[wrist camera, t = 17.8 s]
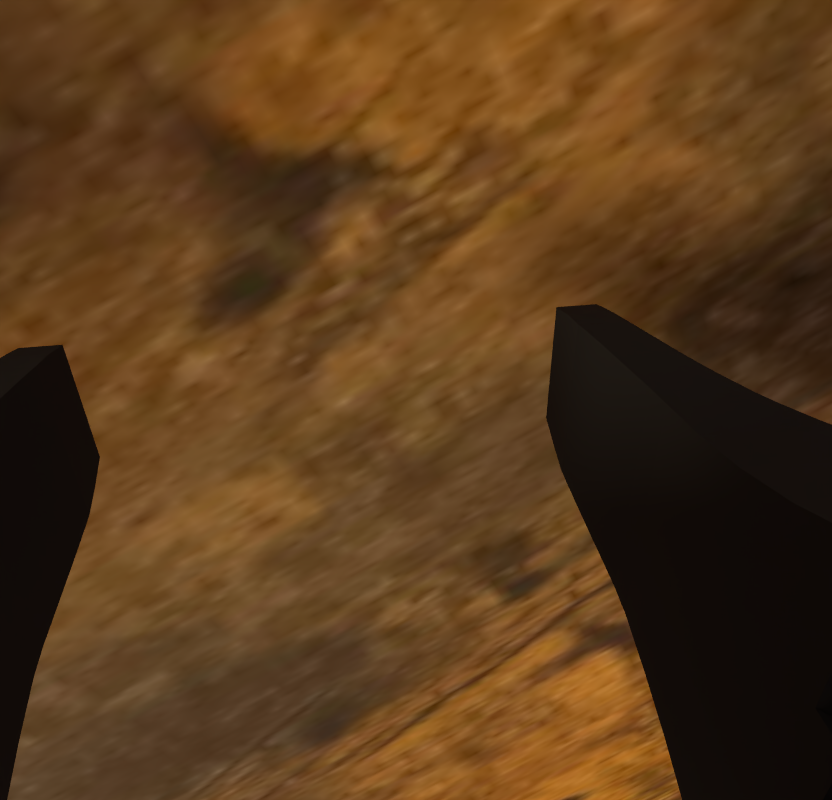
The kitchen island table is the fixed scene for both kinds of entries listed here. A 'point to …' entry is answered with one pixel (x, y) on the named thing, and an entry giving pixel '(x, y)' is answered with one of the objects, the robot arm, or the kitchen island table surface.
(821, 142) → the kitchen island table surface
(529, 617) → the kitchen island table surface
